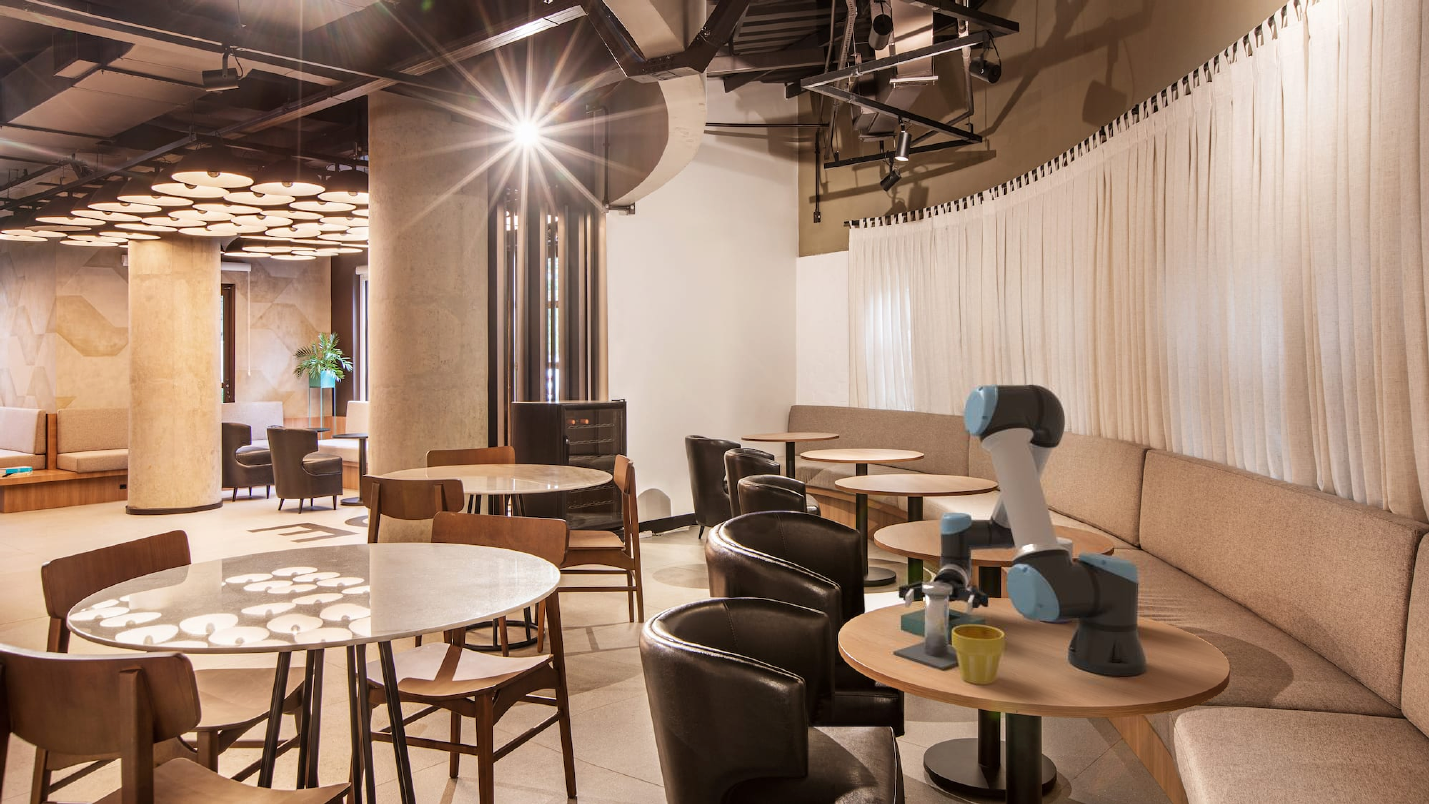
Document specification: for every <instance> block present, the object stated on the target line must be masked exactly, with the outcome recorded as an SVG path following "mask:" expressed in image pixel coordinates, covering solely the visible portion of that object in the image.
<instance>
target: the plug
mask: <svg viewBox="0 0 1429 804" xmlns="http://www.w3.org/2000/svg"><path fill="white" fill-rule="evenodd" d="M922 592H923V593H925V597H924V598H925V599H924V603H925V604H924V609H925V637H924V642H925V648H924V652H925V654H927V655H929V656H934V657H944V656H947V655H948V646H949V644H948V620H949V609H950V602H949V595H951V594H952V585H950V584H947V583H943V582H933V581H926V582H925V583H923V584H922Z"/></svg>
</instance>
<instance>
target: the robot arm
mask: <svg viewBox="0 0 1429 804" xmlns="http://www.w3.org/2000/svg"><path fill="white" fill-rule="evenodd" d="M963 418H964V419H963V421H964V426H965V430H966V431H967V433H969V435H970V436H973V437H978V438H979V442H980V446H981V447H982V449H984V450H986V451H988V452H989V453H990V457H991V459H992V464H993V468H994V472H995V476H996V478H997V482H998V486H999V490H1000V492H999V494H998V498H997V500H996V503H995V505H994V508H993V511H992V514H991V516H990V517H989V518H990V519H985V520H984V519H982V520H981V519H979V520H972V516H971V515H970V514H968V513H965V512H947V513H944V514H943V515H942V516H941V522H940V567H939V571H938V572H937V574H936V575H935V577H934V578H933V580H932V582H943V583H947V584H950V585H952V594H951V595H949V603H950V602H951V603H953V602H956V601H957V602H959V601H961V602H964V603H966V605H967V614H970V615H972V613H973V610H974V609H978V608H979V607H980V606H982V607H983V608H988V607H989V595H988V594H986V593H985V592H983V590H981V589H980V588H978V586H977V585H975V584H973V585H971V586H969V587H968V588H967V586H968V585H969V584H970V582H971V580H972V579H973V569H972V564H971V563H972V551H979V550H980V551H981V550H1010V549H1016V553H1015V555H1014V557H1013V558H1012V560H1011V562H1012V566H1011V567H1010V568H1009V569H1008V572H1007V574H1006V579H1007V582H1006V590H1007V593H1008V594H1007V595H1008V598H1009V600H1010V601H1011V604H1012V606H1013V607H1014V608H1015V610H1016V611H1017V612H1018V613H1019V614H1020V615H1021V616H1022V617H1023V618H1026V619H1027V620H1030V621H1033V622H1036V621H1037V622H1038V621H1039V622H1040V621H1041V622H1045V621H1047V622H1046V623H1050V622H1049V621H1053V620H1061V619H1072V620H1077V621H1076V622H1077V623H1076V628H1075V630H1074V632H1073V635H1072V637H1071V641H1070V643H1069V646H1068V649H1067V660H1068V661H1067V662H1069V664H1071V665H1072V666H1074V667H1076V668H1078V669H1081V670H1083V671H1087V672H1091V673H1093V674H1094V673H1095V674H1099V675H1104V676H1105V675H1106V676H1114V677H1133V676H1138V675H1141V674H1144V673H1145V672H1146V670H1147V658H1146V655H1145V652H1144V649H1143V646H1142V643H1141V640H1140V637H1139V633H1138V613H1139V612H1138V609H1139V608H1138V606H1139V605H1138V604H1139V586H1140V581H1139V570H1138V569H1137V568H1138V567H1137V565H1136V564H1135V563H1134V562H1133V561H1131V560H1128V559H1125V558H1121V557H1116V556H1112V555H1108V554H1107V555H1106V554H1102V553H1095V552H1094V553H1093V552H1081V553H1079V554H1078V557H1077V558H1076V559H1077V561H1075V562H1074V561H1073V562H1071V559H1070V556H1069V552H1068V550H1067V549H1065V548H1064V547H1062V546H1060V545H1059V544H1058V542H1057V538H1056V537H1057V535H1056V532H1055V528H1054V525H1053V521H1052V518H1051V515H1050V511H1049V507H1048V504H1047V501H1046V498H1045V497H1046V496H1045V493H1044V490H1043V488H1042V484H1041V477H1042V475H1043V473H1044V470H1045V467H1046V465H1047V463H1048V460H1049V458H1050V455H1051V453H1052V450H1053V449H1055V448H1057V447H1059V445H1060V442H1061V440H1062V438H1063V435H1064V432H1065V431H1064V430H1065V427H1066V425H1065V424H1066V416H1065V410H1064V408H1063V405H1062V403H1061V401H1060V400H1059V398H1058V397H1057V396H1056V395H1055V393H1054V392H1052V391H1051V390H1050V389H1048V388H1046V387H1045V386H1042V385H1039V384H1038V385H1037V384H1004V385H1003V384H999V385H998V384H993V383H992V384H989V385H979V386H977V387H975V388H974V389H973V390H971V392H970V393H969V395H968V397H967V399H966V402H965V405H964V412H963ZM923 583H925V582H924V580H922V579H920V580H918V581H914V582H913V583H908V584H905V585H900V586H898V598H899V599H903V601H904V603H905V604H904V606H905V608H906V609H909V608H910V606H912V604H913V602H914V601H915V599H922V598H925V593H923V592H922V584H923Z"/></svg>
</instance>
